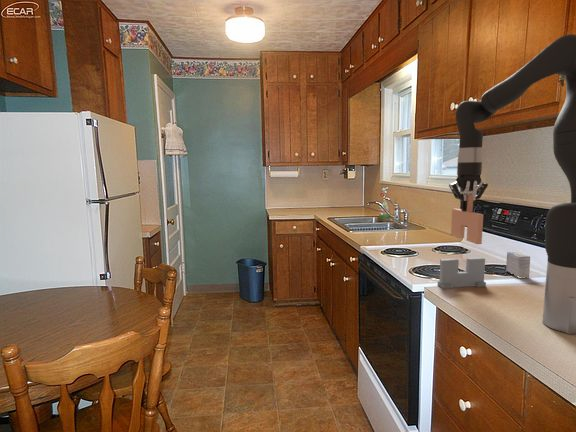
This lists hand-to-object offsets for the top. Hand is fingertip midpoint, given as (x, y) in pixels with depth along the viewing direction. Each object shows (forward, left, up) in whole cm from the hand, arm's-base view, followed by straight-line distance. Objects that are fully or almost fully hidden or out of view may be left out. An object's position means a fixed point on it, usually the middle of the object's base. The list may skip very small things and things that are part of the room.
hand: (466, 211), depth 124 cm
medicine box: (+8, -27, -28) cm, 40 cm away
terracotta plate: (0, 0, -10) cm, 10 cm away
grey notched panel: (0, +1, -27) cm, 27 cm away
